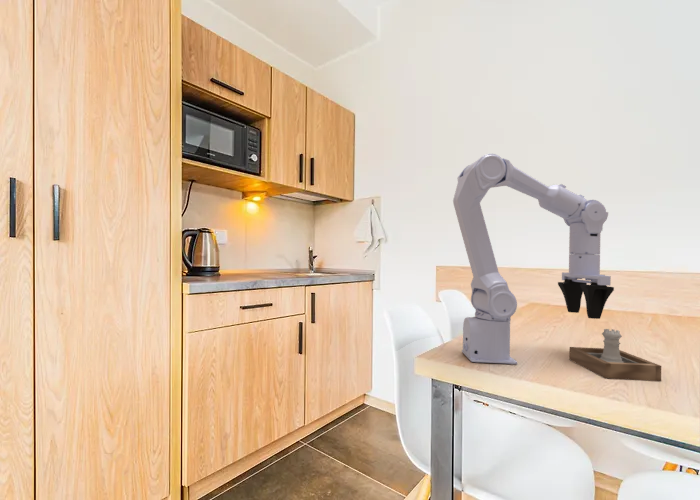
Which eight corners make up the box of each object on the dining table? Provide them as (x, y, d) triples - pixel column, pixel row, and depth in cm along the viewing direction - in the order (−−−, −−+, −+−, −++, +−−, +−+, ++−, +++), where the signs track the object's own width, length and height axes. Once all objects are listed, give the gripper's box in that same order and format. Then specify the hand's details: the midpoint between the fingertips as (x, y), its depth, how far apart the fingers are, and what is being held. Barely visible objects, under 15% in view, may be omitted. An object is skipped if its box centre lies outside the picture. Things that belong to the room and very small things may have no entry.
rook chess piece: (630, 374, 66) (630, 333, 66) (603, 371, 67) (604, 331, 68) (618, 367, 71) (618, 328, 71) (593, 365, 72) (594, 327, 72)
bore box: (604, 378, 64) (605, 363, 64) (569, 359, 75) (569, 346, 75) (661, 380, 63) (661, 365, 63) (616, 361, 74) (616, 348, 74)
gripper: (626, 254, 68) (625, 322, 68) (583, 255, 83) (582, 310, 82) (590, 253, 69) (589, 320, 69) (553, 254, 83) (552, 309, 83)
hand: (583, 315), depth 76 cm, fingers open, 7 cm apart
